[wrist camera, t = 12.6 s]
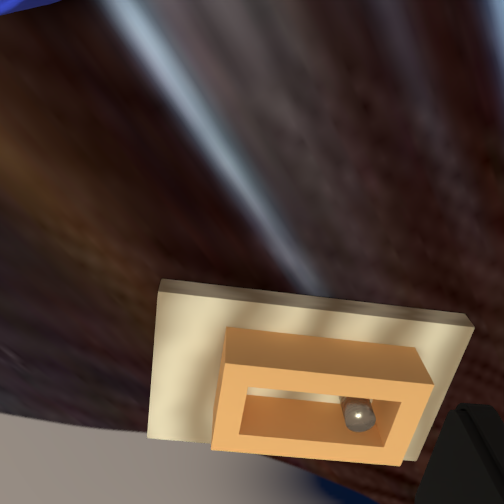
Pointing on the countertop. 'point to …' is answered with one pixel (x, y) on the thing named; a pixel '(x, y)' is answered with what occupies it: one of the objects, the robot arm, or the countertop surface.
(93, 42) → the countertop surface
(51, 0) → the mug
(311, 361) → the orange rectangular frame
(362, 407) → the round metal post
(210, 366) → the backing board
